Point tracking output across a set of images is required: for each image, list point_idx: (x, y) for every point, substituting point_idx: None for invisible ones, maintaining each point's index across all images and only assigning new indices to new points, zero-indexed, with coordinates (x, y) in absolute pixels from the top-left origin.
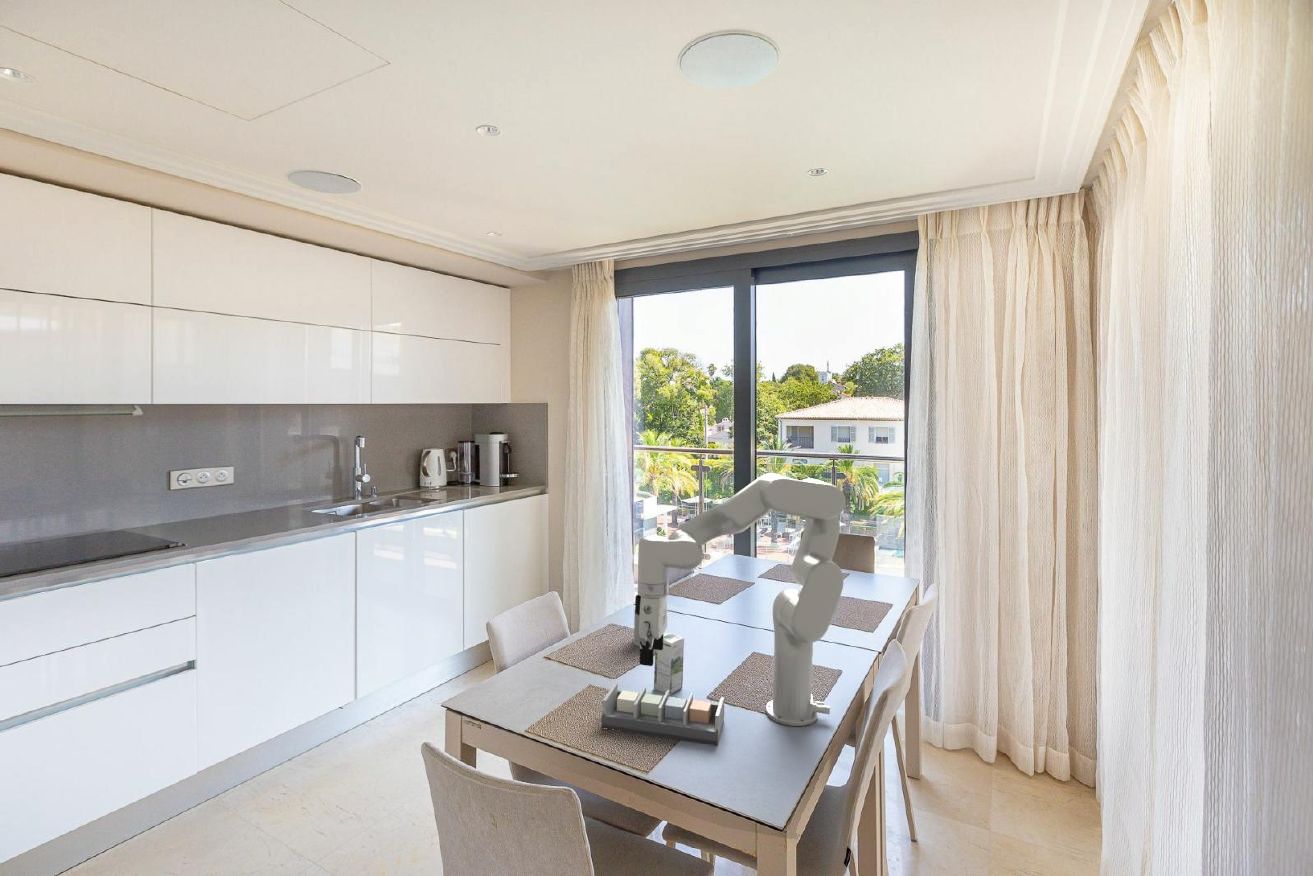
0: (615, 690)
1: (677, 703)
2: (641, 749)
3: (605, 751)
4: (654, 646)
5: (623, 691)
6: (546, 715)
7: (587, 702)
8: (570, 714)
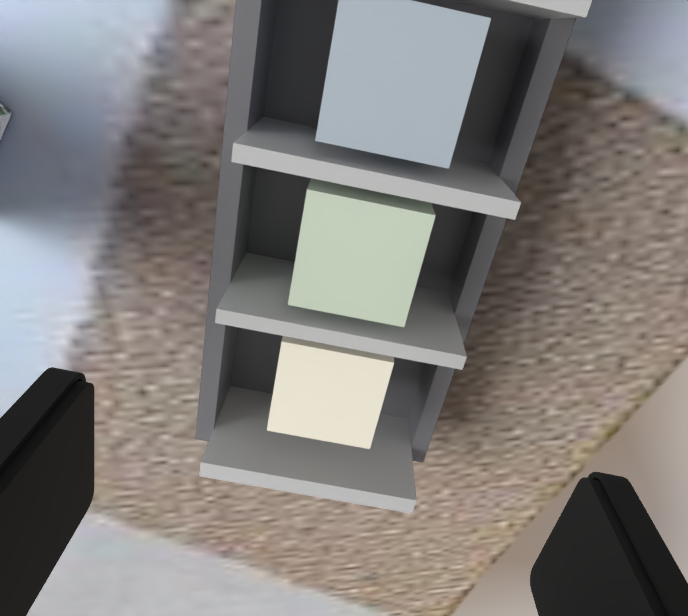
0: (247, 454)
1: (423, 70)
2: (609, 247)
3: (603, 391)
4: (74, 488)
5: (278, 424)
6: (327, 591)
7: (200, 486)
8: (310, 528)
